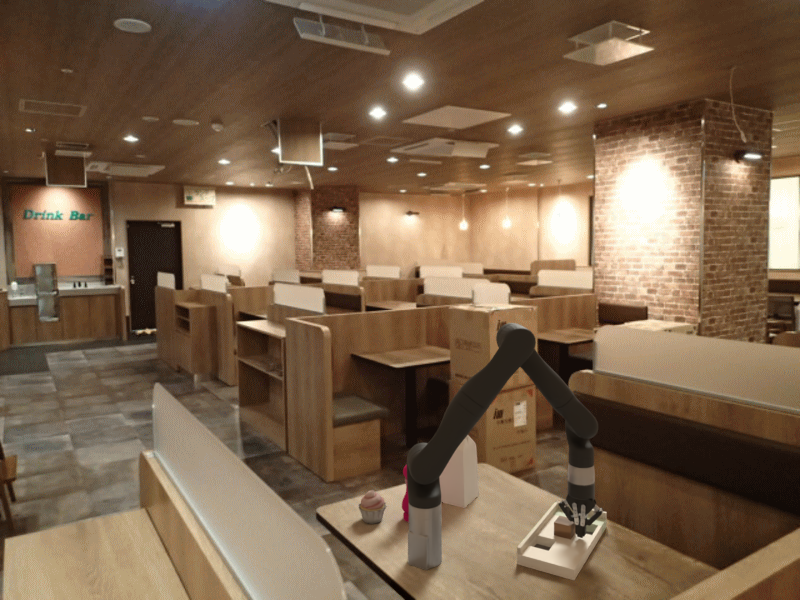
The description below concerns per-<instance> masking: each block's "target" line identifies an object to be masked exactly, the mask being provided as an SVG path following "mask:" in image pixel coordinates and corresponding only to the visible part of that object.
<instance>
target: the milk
mask: <svg viewBox="0 0 800 600" xmlns="http://www.w3.org/2000/svg"><path fill="white" fill-rule="evenodd" d="M477 449H478V448H477V444H476V442H475V440H474V439H473V438H471V436H470V435H469V434H468V435H467V436H466V438H465V439H464V440H463V441H462V443H461V444H460V445H459V446H458V448H457V449H456V451H455V452H454V454H453V455H452V457H451V459H450V460H449V462H448V464H447V465H446V467H445V469H444V471H443V472H442V474H441V475H440V477H439V478H440V489H441V503H442V502H443V503H444V504H446V503H447V504H446V505H452V506H455V507H460V508H462V507H463V509H465V508H467V507H468V506H469V505H470V504H471V503H472V502H474V500H476V499H477V498H478V497H479V496H480V487H479V471H478V469H479V468H478V452H477V451H478V450H477ZM476 497H477V498H476ZM475 498H476V499H475ZM443 503H442V504H443ZM468 504H469V505H468ZM467 505H468V506H467Z"/></svg>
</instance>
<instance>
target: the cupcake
mask: <svg viewBox="0 0 800 600" xmlns="http://www.w3.org/2000/svg"><path fill="white" fill-rule="evenodd" d="M387 507H388V506H387V502H385V499H384V498H383V497H382V495H381V494H380V493H378V492H375V490H374V489H370V490H368V491H367V492H366V493H365V494H364V495H363V497H362V498H361V500H360V503H358V509H359V512H360V515H361V518H362V520H363V522H364V523H366V524H370V525H374V524H379V523H380V522H381V521H382V520H383V518H384V512H385V510H386V508H387Z"/></svg>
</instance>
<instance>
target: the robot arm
mask: <svg viewBox="0 0 800 600" xmlns="http://www.w3.org/2000/svg"><path fill="white" fill-rule="evenodd" d="M495 341H496V345H497V347H498V349H497V350H496V352H495V353H494V355H493V356H492V357H491V359H490V360H489V362H488V363H487V364H486V365H485V366H484V367H482V369H480V370H479V371H478V372H476V373H475V374H474V375H473V376H471V377H470V378H469V379H468V380H466V381H465V383H464V384H463V385H462V386H461V387H460V388H459V390H458V391H457V392H456V393H455V395H453V398H452V399H451V400H450V402H449V404H448V406H447V408H446V410H445V411H444V414H443V416H442V419H441V422H440V424H439V426H438V428H437V430H436V431H435V433H434V435H433V436H432V438H431V439H430V440H429V441H428V442H418V443H416V444H414V445H413V446H412V447H411V448H410V449H409V451H408V452H407V456H406V465H407V488H408V502H409V522H408V532H407V564H408V565H410V566H412V567H416V568H419V569H422V570H425V571H427V570H429V569H431V568H435V567H437V566H439V565H440V564H442V560H443V551H442V550H443V546H442V544H443V541H442V540H443V539H442V537H443V536H442V527H443V526H442V502H441V489H440V478H439V477H440V475H441V474H442V472H443V471H444V469H445V467H446V465H447V464H448V462H449V460H450V459H451V457H452V455H453V454H454V452H455V451H456V449H457V448H458V446H459V445H460V444H461V443H462V441H463V440H464V439H465V438H466V436H467V435H469V434H470V433H471V431H472V430H473V429H474V427H475V426H476V425H477V423H478V422H479V421H480V420H481V418H482V417H483V416H484V415H485V414H486V412H487V411H488V409H489V408H490V406H491V405H492V403H493V402H494V401H495V399H496V397H497V396H498V395H499V394H500V392H501V391H502V390H503V389H504V387H505V385H507V383H508V381H509V380H510V379H511V378H512V376H513V375H514V374H515V373H516V372H517V371H518V370H519V369H521V370H522V371H524V373H525V374H526V375H527V377H528V378H529V379H530V380H531V382H532V383H533V384H534V385H535V387H536V388H537V389H538V391H539V392H540V393H541V395H542V396H543V397H544V399H545V400H546V401H547V402H548V404H549V405H550V406H551V407H552V408H553V410H555V412H557V413H558V414H559V415H560V416H561V417H562V418H563V419H564V420H565V422H564V427H565V428H564V429H565V436H566V441H567V445H568V466H567V474H566V475H567V476H566V477H567V495H566V496H565V499H561V500H560V501H559V502H560V503H559V506H560V508H561V509H562V511H563V512H564V514H565V515H566V517H567V518H568V520H569V521H572V522H574V523H575V533H576V535H577V537H580V538H583V537H584V536H585V535H586V525H589V526H590V525H591V524H592V523H593V522H594V521H595V520H596V519H597V518H598V517H599V516H600V515H601V514H602V513H603V511H604V512H605V510H604V508H603V507H599V506H598V504H597V501H596V496H595V494H596V492H595V491H596V490H595V489H596V487H595V486H596V485H595V484H596V473H595V472H596V471H595V449H594V447H593V445H592V443H591V441H590V439H592V438H594V437H595V436H596V435H597V434H598V431H599V422H598V421H597V418H596V417H595V416H594V414H593V413H592V412H591V411H590V410H589V409H588V408H587V407H586V406H585V405H584V404H583V403H582V402H581V401H580V400H579V399H578V398H577V397H576V395H575V393H574V392H573V391H572V390H571V388H570V387H569V386H568V385H567V383H566V382H565V381H564V380H563V379H562V378H561V376H560V375H559V374H558V373H557V372H556V371H554V370H553V368H552V367H551V366H550V365H549V364H548V363H547V362H546V361H545V360H544V359H543V358H542V356H541V355H540V354H539V353H538V351H537V350H536V349H535V348H536V344H537V343H536V336H535V334H534V333H533V332H532V330H530V329H528V328H527V327H526V326H523V325H522V324H520V323H515V322H508V323H505V324H503V325H501V326H500V327H499V328H498V329H497V332H496V336H495ZM569 506H570V507H571V509H572V510H573V512H572V511H571V509H570V508H569ZM592 509H594V515H593V516H592V517H591V518H590V519H587V516H588V513H589V512H590V511H591V510H592Z"/></svg>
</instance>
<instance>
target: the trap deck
mask: <svg viewBox="0 0 800 600" xmlns="http://www.w3.org/2000/svg"><path fill="white" fill-rule="evenodd" d="M560 502H561V501H559V500H555V502H554V503H553V504H552V505H551V506H550V508H549V509H548V510H547V511H546V512H545V513H544V514H543V516H541V518H540V519H539V520H538V522H537V523H536V524H535V525H534V527H532V529H531V530H530V531H529V532H528V534H527V535H526V536H525V537H524V538H523V540H521V542H520V543H519V544H518V545H517V547H516V565H518V566H523V567H526V568H529V569H532V570H537V571H540V572H543V573H547V574H551V575H554V576H557V577H559V578H560V577H561V578H564V579H567V580H571V581H576V578H577V576H578V575H579V573H580V572H581V570H582V568H583V567H584V565H585V564H586V562H587V560H588V558H589V557H590V555H591V553H593V550H594V548H595V547H596V545H597V544H598V542H599V540H600V539H601V537H602V535H603V534H604V532H605V530H606V529H607V522H608V521H607V520H608V519H607V515H608V513H607V511H605V510H604V511H603V513H602V514H601V515H600V516H599V517H598V518H597V519H596V520H595V521H594V522H593V523H592V524H591V525H590V526H589V525H586V535H585V536H584V537H583V538H580V537H577V535H576V533H575V534H574V536H573V537H572V538H571V540H570V539H566V538H563V537H559V536H555V535H554V522H555V521H556V519H557V518H558V517H559V516H563V517H566V515H565V514H564V512H563V511H562V509H561V508H560V506H559V503H560ZM569 508H570V509H571V507H570V506H569ZM571 511H572V512H573V510H572V509H571ZM593 515H594V508H593V509H592V510H591V511H590V512H589V513H588V516H587V519H590V518H591V517H592V516H593Z"/></svg>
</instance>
